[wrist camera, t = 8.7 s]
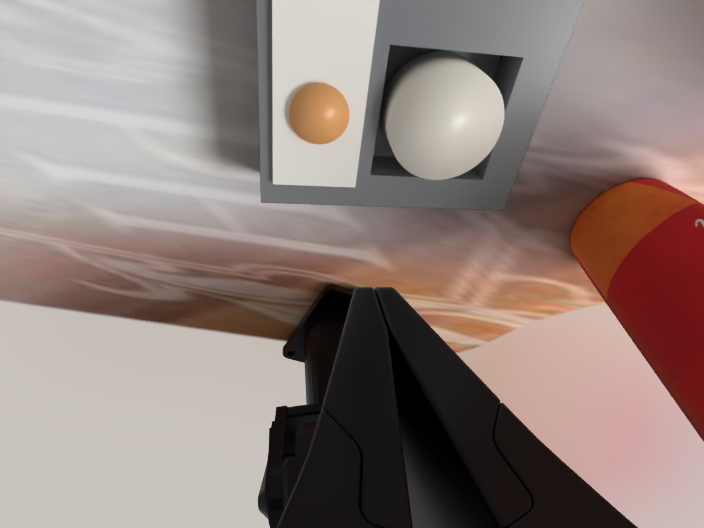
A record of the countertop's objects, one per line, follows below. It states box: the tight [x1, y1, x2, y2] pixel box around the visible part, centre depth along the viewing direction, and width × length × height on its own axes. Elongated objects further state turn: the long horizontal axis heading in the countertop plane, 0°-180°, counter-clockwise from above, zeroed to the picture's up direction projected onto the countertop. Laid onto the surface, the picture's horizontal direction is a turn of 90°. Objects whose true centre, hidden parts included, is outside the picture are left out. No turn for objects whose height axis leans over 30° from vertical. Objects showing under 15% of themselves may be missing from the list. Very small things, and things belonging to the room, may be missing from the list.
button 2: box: [381, 51, 505, 180], centre depth 17 cm, size 4×4×2 cm
